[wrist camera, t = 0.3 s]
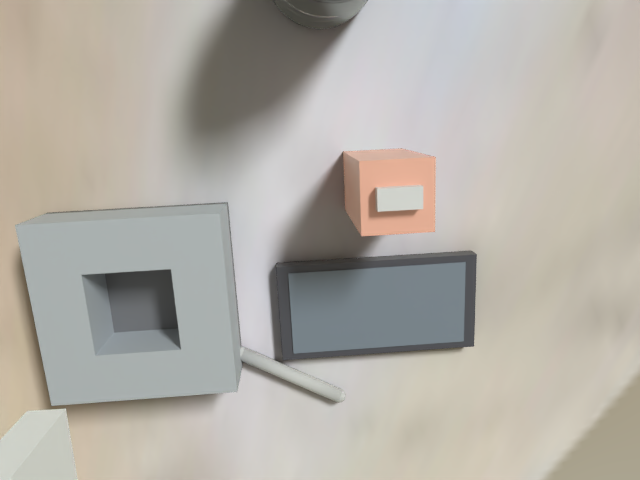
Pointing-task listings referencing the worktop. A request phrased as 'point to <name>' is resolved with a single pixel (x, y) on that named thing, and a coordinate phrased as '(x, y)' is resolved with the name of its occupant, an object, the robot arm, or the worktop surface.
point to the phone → (376, 304)
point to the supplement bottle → (320, 11)
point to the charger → (390, 191)
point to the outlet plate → (134, 302)
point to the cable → (291, 375)
